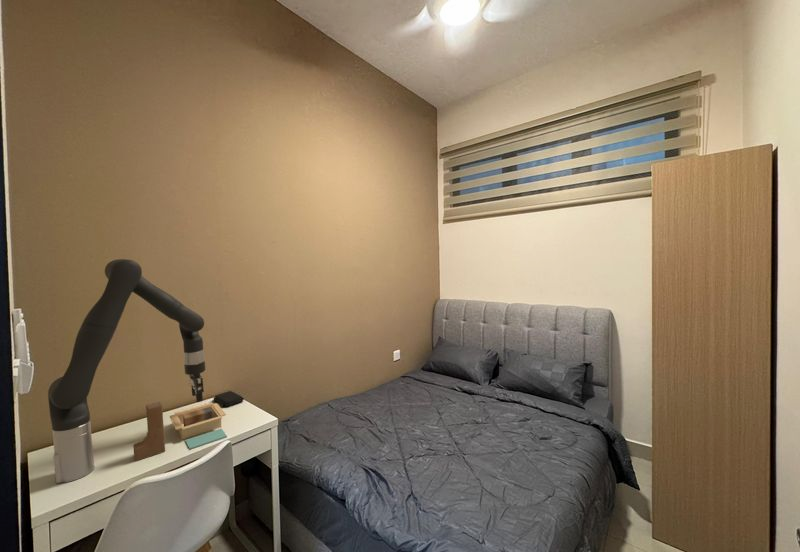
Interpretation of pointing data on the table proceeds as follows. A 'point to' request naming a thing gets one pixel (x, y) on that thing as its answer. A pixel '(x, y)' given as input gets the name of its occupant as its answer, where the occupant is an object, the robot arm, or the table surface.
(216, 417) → the carton
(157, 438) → the wooden block
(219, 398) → the carrying case or bag
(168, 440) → the table surface
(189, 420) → the box
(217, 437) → the mat
